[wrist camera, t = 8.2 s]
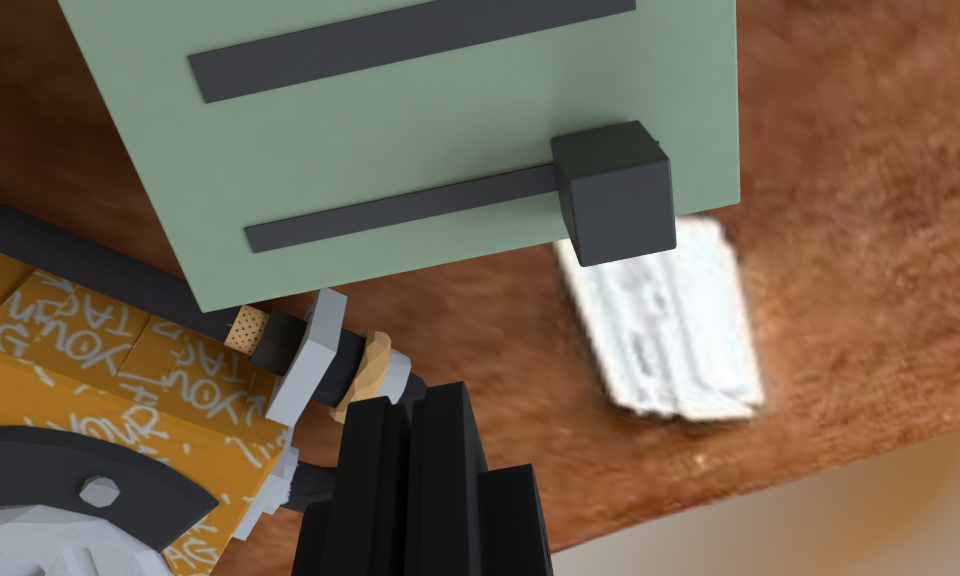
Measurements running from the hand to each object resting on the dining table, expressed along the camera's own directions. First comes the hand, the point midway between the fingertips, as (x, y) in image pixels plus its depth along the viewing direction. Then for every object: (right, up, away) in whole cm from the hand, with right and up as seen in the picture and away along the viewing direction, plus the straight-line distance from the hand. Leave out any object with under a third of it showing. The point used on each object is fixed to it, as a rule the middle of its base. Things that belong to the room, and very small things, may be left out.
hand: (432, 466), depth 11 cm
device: (-18, -2, +25) cm, 31 cm away
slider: (+4, +6, +9) cm, 12 cm away
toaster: (-1, +14, +17) cm, 22 cm away
